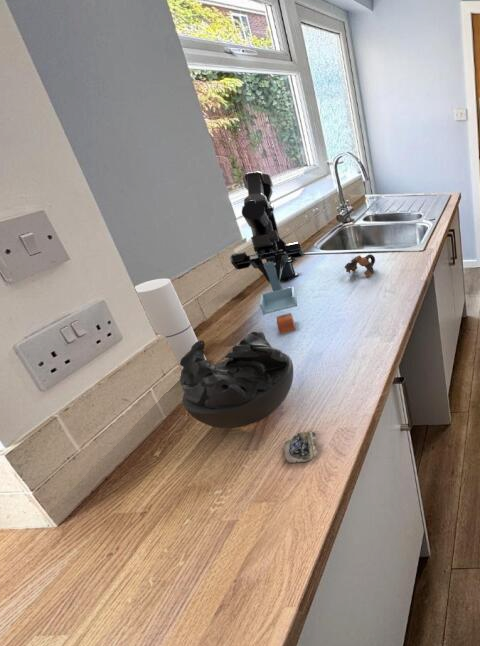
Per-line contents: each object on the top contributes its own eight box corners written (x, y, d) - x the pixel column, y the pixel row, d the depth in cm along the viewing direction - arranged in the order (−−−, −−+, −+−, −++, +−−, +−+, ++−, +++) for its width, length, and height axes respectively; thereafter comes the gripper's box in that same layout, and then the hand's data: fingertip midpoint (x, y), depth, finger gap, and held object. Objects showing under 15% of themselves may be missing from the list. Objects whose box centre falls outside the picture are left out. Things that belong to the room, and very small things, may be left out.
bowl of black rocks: (321, 402, 92) (299, 333, 84) (226, 467, 77) (188, 390, 69) (276, 373, 102) (252, 309, 94) (184, 425, 88) (147, 354, 80)
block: (276, 316, 121) (276, 322, 117) (291, 312, 122) (291, 318, 119) (280, 327, 122) (280, 334, 119) (294, 323, 124) (295, 330, 121)
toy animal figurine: (363, 282, 150) (348, 265, 147) (353, 286, 156) (338, 270, 153) (385, 262, 157) (371, 246, 155) (374, 267, 164) (360, 252, 161)
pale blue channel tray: (264, 300, 124) (251, 265, 119) (296, 293, 128) (285, 258, 123) (263, 314, 117) (249, 277, 111) (297, 306, 120) (285, 269, 115)
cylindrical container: (191, 380, 101) (148, 293, 91) (168, 377, 103) (123, 291, 92) (215, 362, 108) (177, 279, 97) (193, 360, 109) (154, 277, 98)
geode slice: (310, 428, 85) (307, 422, 84) (329, 447, 80) (327, 440, 79) (277, 449, 80) (274, 442, 79) (295, 471, 76) (292, 463, 75)
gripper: (219, 229, 115) (229, 278, 111) (292, 217, 122) (303, 262, 118) (231, 246, 125) (241, 291, 120) (298, 234, 132) (309, 276, 128)
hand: (274, 280), depth 122 cm, fingers closed on pale blue channel tray, 2 cm apart
